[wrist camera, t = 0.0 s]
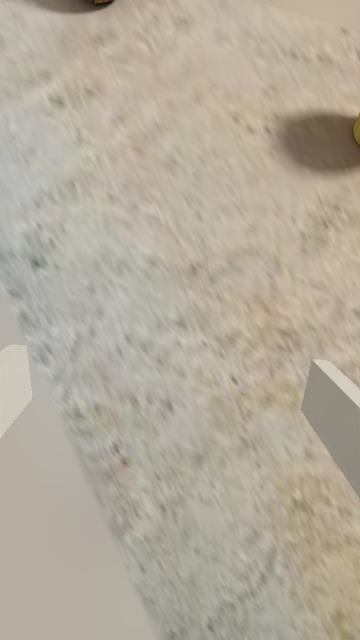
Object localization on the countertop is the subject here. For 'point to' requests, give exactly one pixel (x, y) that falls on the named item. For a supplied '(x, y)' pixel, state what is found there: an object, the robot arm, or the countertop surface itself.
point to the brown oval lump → (99, 1)
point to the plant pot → (357, 130)
